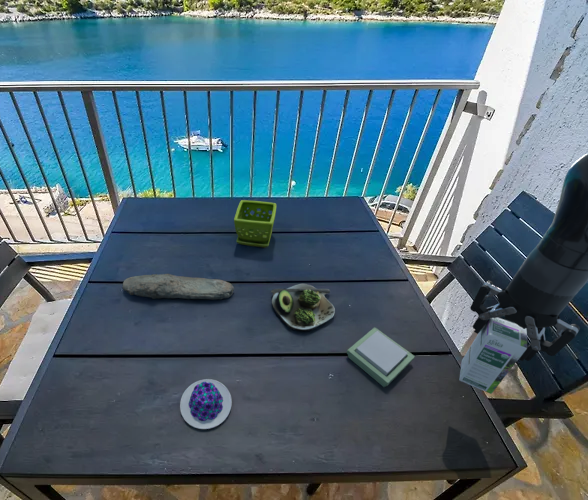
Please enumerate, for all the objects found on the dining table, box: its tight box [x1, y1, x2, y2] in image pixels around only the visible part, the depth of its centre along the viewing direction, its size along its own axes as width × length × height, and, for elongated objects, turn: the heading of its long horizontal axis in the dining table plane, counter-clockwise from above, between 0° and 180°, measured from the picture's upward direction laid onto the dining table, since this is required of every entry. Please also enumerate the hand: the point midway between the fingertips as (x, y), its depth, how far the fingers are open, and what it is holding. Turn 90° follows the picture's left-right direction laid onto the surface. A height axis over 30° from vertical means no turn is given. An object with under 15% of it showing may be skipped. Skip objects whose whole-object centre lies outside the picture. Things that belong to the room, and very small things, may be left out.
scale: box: [346, 326, 416, 388], centre depth 90 cm, size 12×12×3 cm
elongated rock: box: [121, 273, 235, 301], centre depth 109 cm, size 35×5×10 cm
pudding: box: [179, 378, 233, 430], centre depth 80 cm, size 12×12×5 cm
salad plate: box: [269, 283, 336, 332], centre depth 104 cm, size 19×18×5 cm
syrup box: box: [459, 317, 528, 395], centre depth 66 cm, size 6×6×14 cm
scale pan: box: [355, 331, 408, 376], centre depth 89 cm, size 9×9×2 cm
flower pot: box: [233, 199, 277, 249], centre depth 128 cm, size 14×14×13 cm
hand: (499, 343), depth 64 cm, fingers closed on syrup box, 7 cm apart
